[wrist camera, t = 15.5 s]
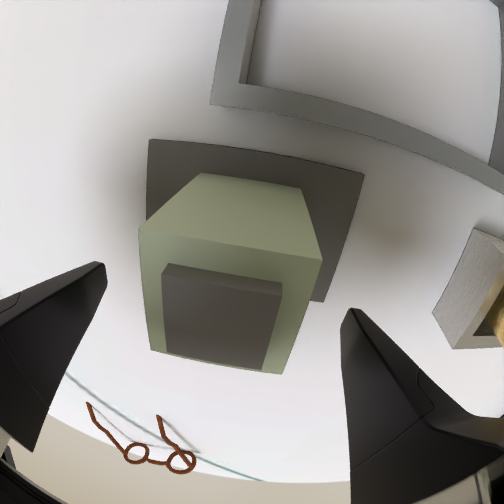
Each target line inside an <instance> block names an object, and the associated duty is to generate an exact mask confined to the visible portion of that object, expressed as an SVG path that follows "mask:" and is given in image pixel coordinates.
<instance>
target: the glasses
mask: <svg viewBox="0 0 504 504" xmlns="http://www.w3.org/2000/svg"><path fill="white" fill-rule="evenodd" d="M86 404H87V407H88V410H89V413H90V416H91V419H92V422H93V423H94V424H95V425H96V426H97V427H98V428H99V429H100V430H102V431H103V432H105V434H106V435H107V436H108V437H109V438H110V440H111V441H112V442H113V443H114V444H115V445H116V447H117V448H118V449H119V450H120V451H121V452H122V453H123V454H124V458H125V460H126V461H127V462H129V463H131V464H141V463H144V462H145V461H146V460H147V461H148V462H149V463H152V464H157V465H166V466H167V468H168V469H169V470H170V471H171V472H173V473H176V474H186V473H189V472H190V471H192V470H193V469H194V467H195V465H196V457H195V455H194V454H193V453H192V452H190V451H183V450H181V449H180V448H179V446H178V445H177V444H175V443H173V442H171V441H170V440H169V439H168V438H167V437H166V434H165V431H164V427H163V423H162V418H161V417H160V416H159V415H156V417H157V421H158V425H159V429H160V433H161V437H162V438H163V440H164V441H165V442H166V443H167V444H168V445H170V446H172V447H173V448H174V449H175V450H176V451H175V452H173V453H172V454H171V455H170V456H169V458H168V459H167V461H165V462H161V461H156V460H151V459H148V456H149V448H148V447H147V446H146V445H145V444H142V443H132V444H130V445H129V446H127V448H126V449H125V450H124V449H123V448H122V447H121V446H120V445H119V443H118V442H117V441H116V440H115V439H114V437H113V436H112V435H111V434H110V433H109V431H108V430H106V429H105V428H103V427H102V426H101V425H100V424H99V423H98V422H97V421H96V418H95V415H94V412H93V409H92V406H91V405H90V404H89V403H88V402H86ZM134 446H142V447H144V448H145V450H146V452H145V455H144V457H143V458H142V459H140V460H138V461H133V460H130V459H128V457H127V454H128V451H129V450H130V449H131V448H132V447H134ZM178 454H179V455H180V457H181V458H182V459H183V461H184V462H185V463H186V464H187V466H188V467H189V468H187V469H185V470H180V471H179V470H175V469H173V468H172V467H171V465H170V463H171V460H172V459H173V457H174V456H176V455H178ZM184 454H188V455H190V456H191V457H192V463H190V461H189V460H188V459H187V457H186V456H185V455H184Z"/></svg>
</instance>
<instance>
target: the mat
mask: <svg viewBox="0 0 504 504" xmlns="http://www.w3.org/2000/svg"><path fill="white" fill-rule="evenodd" d="M200 173H208V174H216V175H223V176H230V177H237V178H243V179H250V180H256V181H262V182H268V183H273V184H279V185H285V186H290V187H295V188H300V189H301V191H302V194H303V197H304V200H305V203H306V206H307V209H308V212H309V215H310V219H311V222H312V225H313V228H314V232H315V235H316V238H317V242H318V245H319V249H320V252H321V256H322V259H323V261H322V264H321V267H320V270H319V273H318V276H317V280H316V283H315V286H314V289H313V292H312V295H311V298H310V301H316V302H324V300H325V297H326V294H327V292H328V289H329V286H330V284H331V281H332V278H333V275H334V273H335V270H336V267H337V264H338V261H339V258H340V255H341V252H342V249H343V246H344V243H345V240H346V237H347V234H348V231H349V228H350V224H351V221H352V218H353V215H354V211H355V208H356V204H357V201H358V198H359V194H360V190H361V187H362V183H363V179H364V176H365V175H364V174H361V173H358V172H354V171H350V170H346V169H342V168H338V167H334V166H330V165H326V164H322V163H317V162H313V161H308V160H303V159H299V158H294V157H289V156H283V155H278V154H273V153H267V152H261V151H255V150H249V149H242V148H235V147H228V146H220V145H212V144H203V143H194V142H183V141H172V140H157V139H150V140H149V147H148V164H147V193H146V221H147V220H148V219H149V218H150V217H151V216H152V215H153V214H155V213H156V212H157V211H158V210H159V209H160V208H161V207H162V206H163V205H164V204H165V203H166V202H168V201H169V200H170V199H171V198H172V197H173V196H174V195H175V194H177V193H178V192H179V191H180V190H181V189H182V188H183V187H185V186H186V185H187V184H188V183H189V182H190V181H192V180H193V179H194V178H195V177H196V176H197V175H199V174H200Z"/></svg>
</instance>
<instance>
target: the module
mask: <svg viewBox="0 0 504 504" xmlns="http://www.w3.org/2000/svg"><path fill="white" fill-rule="evenodd" d="M138 234H139V253H140V267H141V279H142V289H143V298H144V307H145V315H146V322H147V329H148V336H149V342H150V348H151V350H153V351H157V352H161V353H165V354H169V355H173V356H177V357H181V358H186V359H190V360H195V361H200V362H205V363H210V364H215V365H220V366H226V367H232V368H238V369H244V370H251V371H258V372H265V373H273V374H282V373H283V371H284V368H285V366H286V363H287V361H288V358H289V356H290V353H291V350H292V348H293V345H294V342H295V340H296V337H297V334H298V332H299V329H300V326H301V323H302V321H303V318H304V315H305V312H306V309H307V306H308V303H309V301H310V298H311V295H312V292H313V289H314V286H315V283H316V280H317V276H318V273H319V270H320V267H321V264H322V261H323V259H322V256H321V252H320V249H319V245H318V242H317V238H316V235H315V232H314V228H313V225H312V222H311V219H310V215H309V212H308V209H307V206H306V203H305V200H304V197H303V194H302V191H301V189H300V188H295V187H290V186H285V185H279V184H273V183H268V182H262V181H256V180H250V179H243V178H237V177H230V176H223V175H216V174H208V173H200V174H199V175H197V176H196V177H195V178H194V179H193V180H192V181H190V182H189V183H188V184H187V185H186V186H185V187H183V188H182V189H181V190H180V191H179V192H178V193H177V194H175V195H174V196H173V197H172V198H171V199H170V200H169V201H168V202H166V203H165V204H164V205H163V206H162V207H161V208H160V209H159V210H158V211H157V212H156V213H155V214H153V215H152V216H151V217H150V218H149V219H148V220H147V221H146V222H145V223H144V224H143V225H142V226H141V227H140V228H139V229H138Z"/></svg>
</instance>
